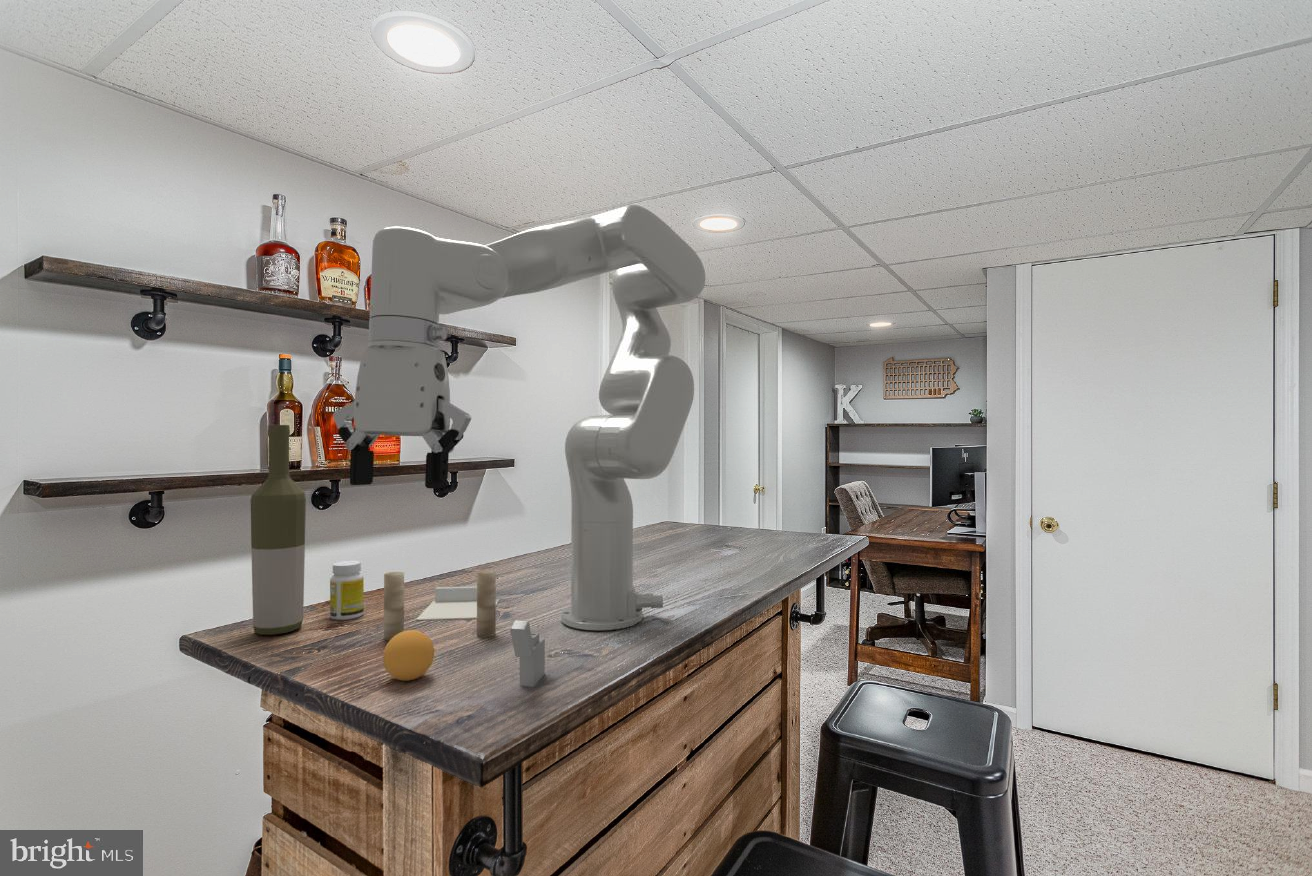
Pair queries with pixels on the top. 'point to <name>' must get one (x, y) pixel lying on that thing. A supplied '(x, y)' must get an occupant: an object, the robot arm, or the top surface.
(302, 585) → the bottle
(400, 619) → the post
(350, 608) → the supplement bottle
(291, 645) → the top surface
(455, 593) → the stopper rail
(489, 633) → the post
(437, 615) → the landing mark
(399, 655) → the ball
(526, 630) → the lighter
